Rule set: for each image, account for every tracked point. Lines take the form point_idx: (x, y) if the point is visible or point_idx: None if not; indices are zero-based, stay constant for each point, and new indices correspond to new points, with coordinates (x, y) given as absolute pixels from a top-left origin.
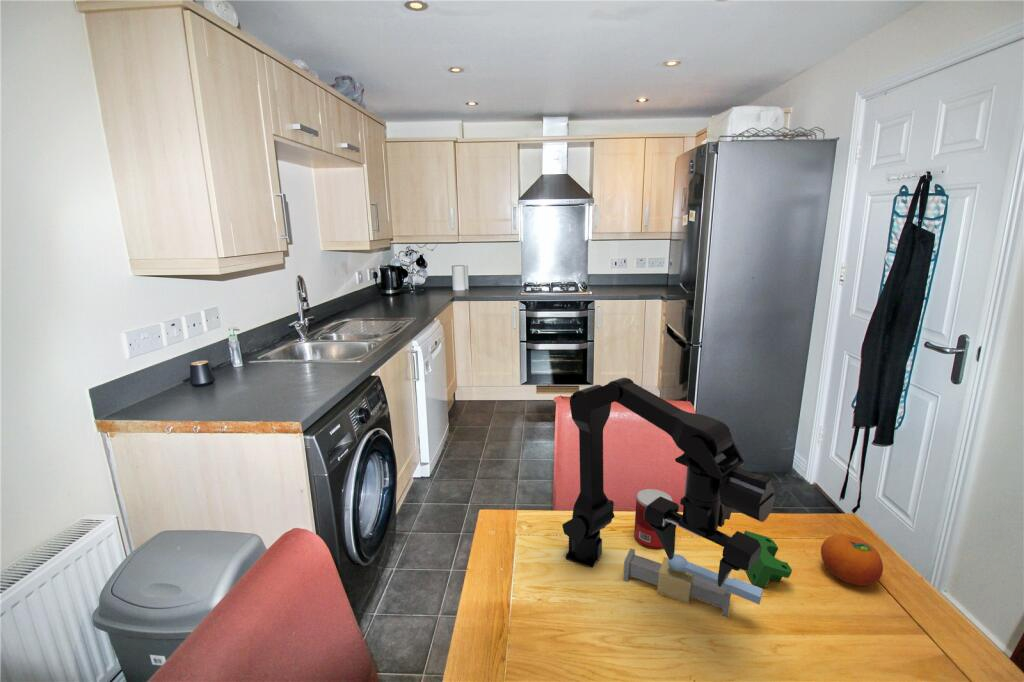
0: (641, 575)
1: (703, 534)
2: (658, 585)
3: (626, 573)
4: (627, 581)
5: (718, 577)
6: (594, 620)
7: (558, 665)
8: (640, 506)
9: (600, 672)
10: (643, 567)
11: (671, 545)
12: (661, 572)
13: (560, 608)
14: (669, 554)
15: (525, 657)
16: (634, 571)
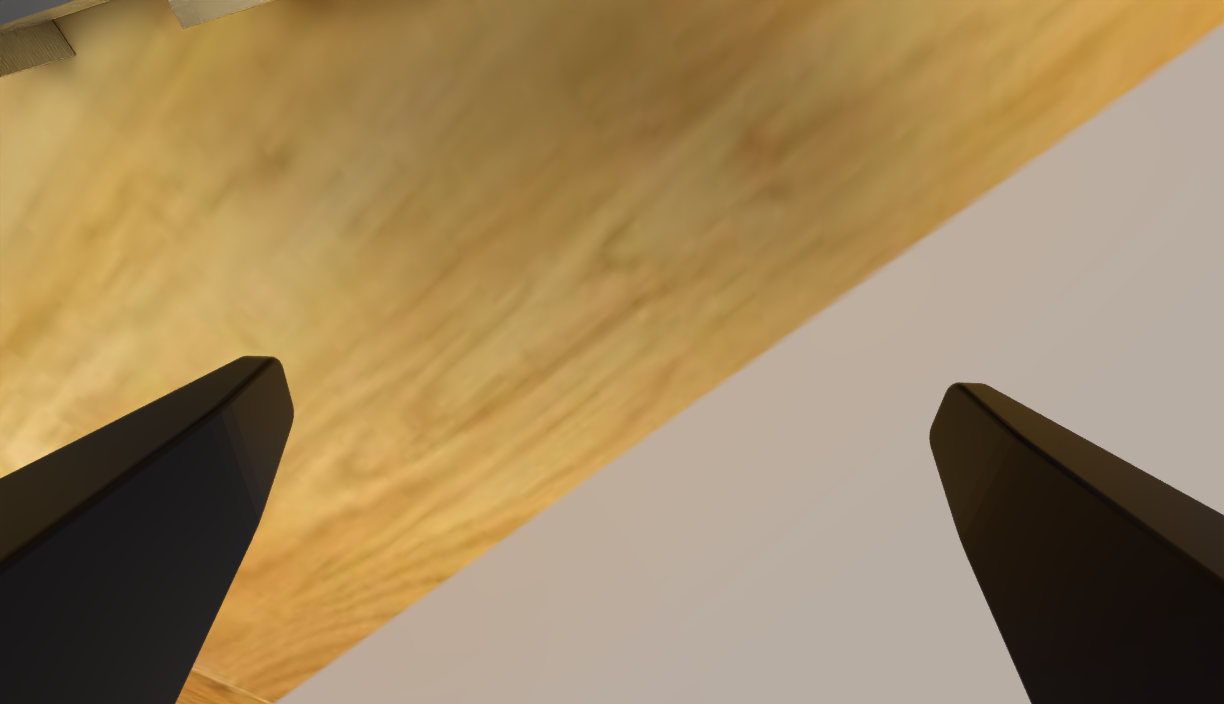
0: (87, 3)
1: None
2: (258, 5)
3: (9, 74)
4: (69, 55)
5: (1004, 631)
6: None
7: (345, 621)
8: None
9: (458, 567)
10: (34, 10)
11: (159, 582)
12: (202, 14)
13: None
14: (255, 527)
15: (255, 656)
16: (20, 24)
